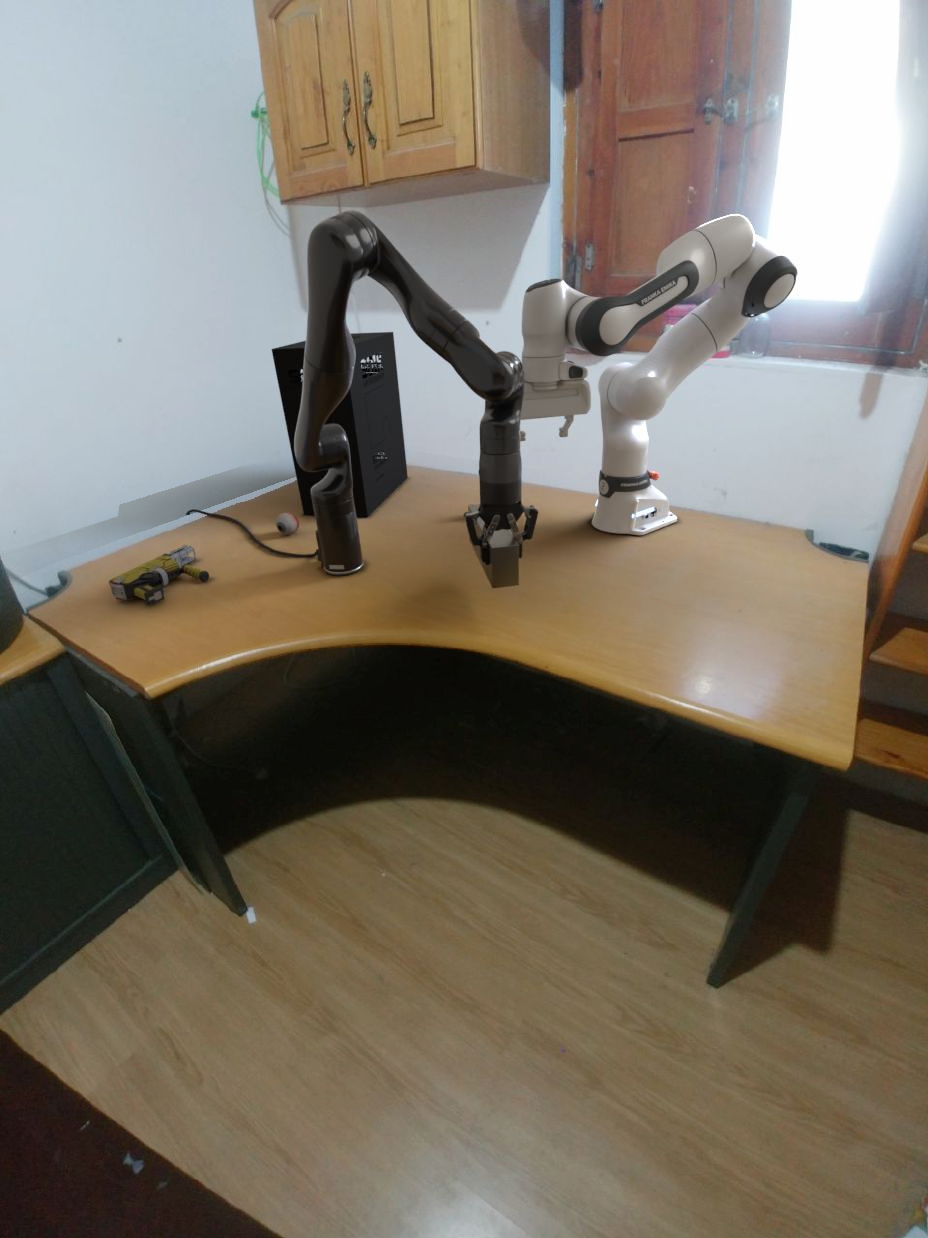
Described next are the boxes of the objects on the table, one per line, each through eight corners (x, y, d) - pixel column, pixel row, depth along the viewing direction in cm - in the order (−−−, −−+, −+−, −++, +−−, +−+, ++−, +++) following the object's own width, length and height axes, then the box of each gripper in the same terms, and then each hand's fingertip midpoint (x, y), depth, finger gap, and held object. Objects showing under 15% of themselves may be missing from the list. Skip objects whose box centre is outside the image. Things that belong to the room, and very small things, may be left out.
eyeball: (273, 537, 164) (268, 516, 161) (287, 528, 169) (282, 508, 166) (291, 539, 161) (286, 518, 158) (305, 530, 166) (301, 510, 163)
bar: (469, 541, 134) (468, 505, 130) (492, 538, 135) (491, 502, 131) (492, 588, 114) (491, 548, 110) (519, 585, 115) (519, 544, 111)
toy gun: (232, 553, 147) (182, 542, 151) (158, 593, 127) (102, 580, 131) (234, 570, 150) (185, 559, 154) (162, 613, 130) (107, 599, 134)
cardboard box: (367, 516, 174) (344, 346, 151) (303, 514, 178) (271, 348, 156) (407, 477, 205) (393, 331, 183) (352, 476, 210) (331, 334, 187)
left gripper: (464, 485, 103) (468, 574, 112) (545, 477, 105) (543, 565, 113) (457, 472, 109) (461, 558, 118) (533, 465, 111) (532, 549, 120)
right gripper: (497, 376, 120) (498, 446, 127) (595, 368, 122) (591, 437, 129) (490, 372, 125) (492, 439, 132) (585, 364, 127) (582, 431, 134)
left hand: (501, 561), depth 116 cm, fingers closed on bar, 5 cm apart
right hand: (542, 438), depth 130 cm, fingers open, 8 cm apart
